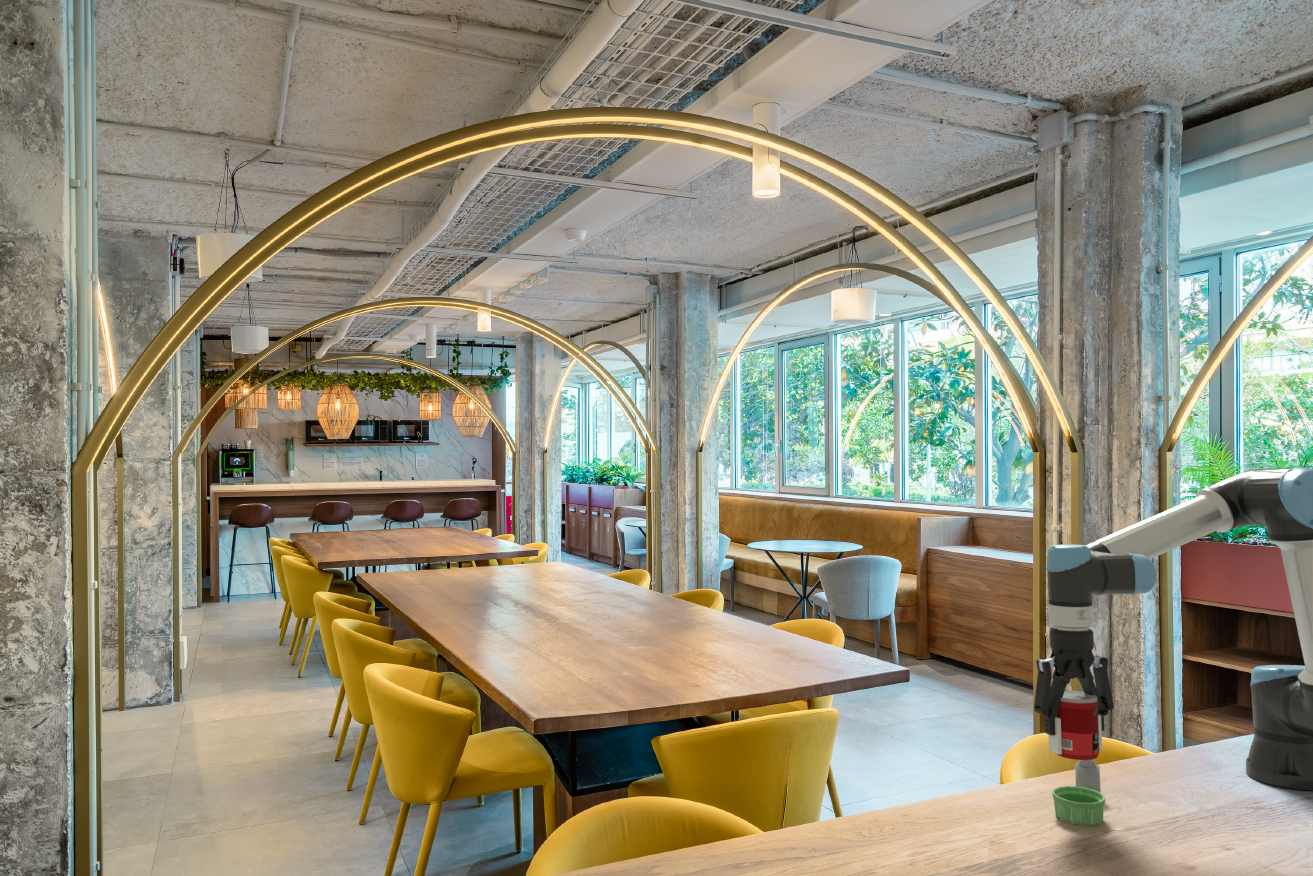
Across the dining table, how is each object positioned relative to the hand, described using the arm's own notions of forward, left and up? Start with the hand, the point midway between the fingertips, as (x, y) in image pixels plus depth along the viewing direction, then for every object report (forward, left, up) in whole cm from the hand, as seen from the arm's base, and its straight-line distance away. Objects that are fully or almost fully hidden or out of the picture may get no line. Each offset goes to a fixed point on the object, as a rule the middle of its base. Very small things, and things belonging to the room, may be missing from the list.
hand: (1075, 750), depth 166 cm
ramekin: (0, 0, -13) cm, 13 cm away
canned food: (0, 0, -1) cm, 1 cm away
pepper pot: (-9, -9, -12) cm, 18 cm away
